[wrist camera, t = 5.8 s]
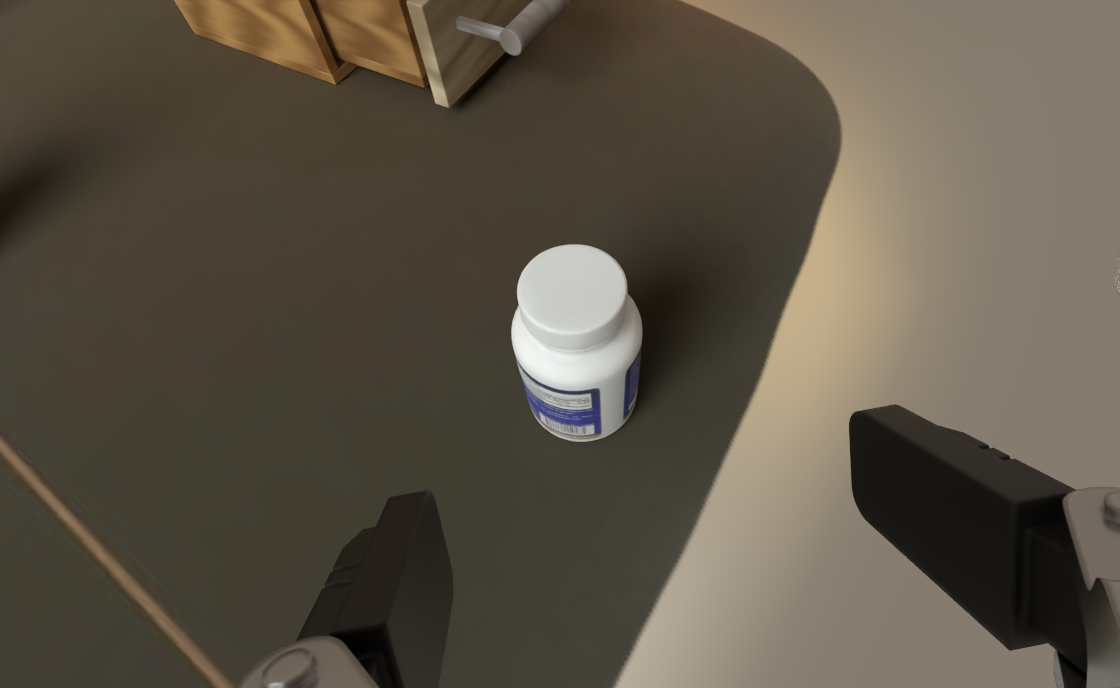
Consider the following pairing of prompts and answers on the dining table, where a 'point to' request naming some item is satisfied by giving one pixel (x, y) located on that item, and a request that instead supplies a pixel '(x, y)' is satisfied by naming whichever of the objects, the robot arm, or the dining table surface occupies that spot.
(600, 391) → the pill bottle
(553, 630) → the dining table surface
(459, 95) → the drawer
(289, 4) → the cabinet
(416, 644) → the robot arm
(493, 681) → the dining table surface
